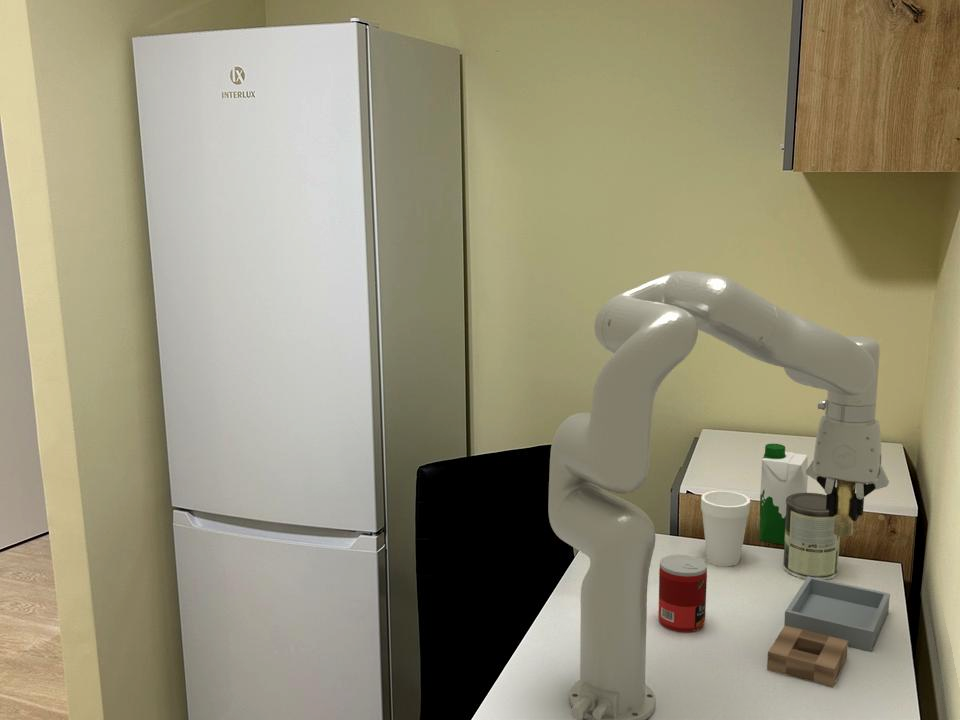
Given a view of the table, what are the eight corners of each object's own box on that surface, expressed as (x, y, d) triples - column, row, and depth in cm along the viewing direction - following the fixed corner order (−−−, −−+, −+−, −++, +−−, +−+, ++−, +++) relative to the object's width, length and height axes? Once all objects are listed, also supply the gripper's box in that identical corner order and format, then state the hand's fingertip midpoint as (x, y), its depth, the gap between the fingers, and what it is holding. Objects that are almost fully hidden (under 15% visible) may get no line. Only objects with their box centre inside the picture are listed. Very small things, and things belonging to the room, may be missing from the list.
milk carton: (763, 527, 204) (768, 439, 200) (807, 534, 200) (812, 444, 195) (754, 541, 196) (758, 450, 192) (799, 549, 192) (804, 456, 188)
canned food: (705, 634, 158) (708, 574, 156) (657, 630, 160) (659, 571, 157) (704, 613, 165) (706, 555, 163) (658, 610, 167) (659, 552, 165)
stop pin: (850, 538, 156) (854, 481, 154) (831, 534, 158) (835, 478, 156) (854, 532, 159) (857, 476, 157) (835, 528, 161) (839, 473, 158)
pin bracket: (833, 687, 142) (834, 669, 141) (767, 669, 147) (767, 651, 146) (847, 657, 150) (848, 640, 149) (783, 641, 155) (784, 625, 155)
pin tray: (871, 651, 152) (873, 631, 151) (784, 630, 159) (785, 611, 158) (888, 611, 165) (889, 593, 164) (806, 593, 172) (807, 576, 172)
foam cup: (691, 552, 191) (693, 492, 189) (734, 548, 193) (736, 488, 190) (711, 571, 182) (713, 508, 180) (755, 567, 184) (758, 505, 181)
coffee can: (772, 562, 186) (775, 495, 183) (817, 556, 189) (821, 489, 186) (802, 584, 176) (806, 513, 173) (849, 577, 179) (854, 507, 176)
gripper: (794, 410, 155) (788, 515, 159) (900, 423, 147) (892, 533, 150) (805, 400, 161) (800, 501, 165) (908, 412, 153) (899, 518, 157)
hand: (844, 515), depth 158 cm, fingers closed on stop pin, 3 cm apart
